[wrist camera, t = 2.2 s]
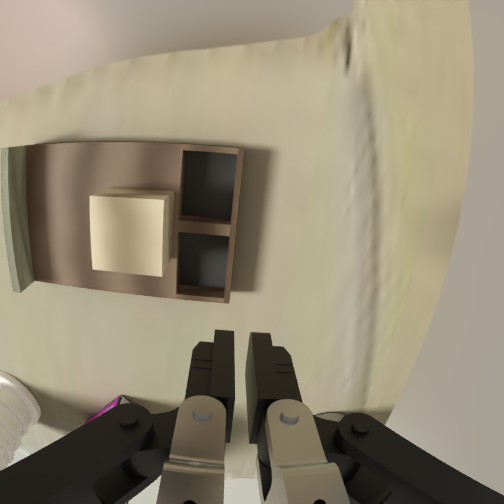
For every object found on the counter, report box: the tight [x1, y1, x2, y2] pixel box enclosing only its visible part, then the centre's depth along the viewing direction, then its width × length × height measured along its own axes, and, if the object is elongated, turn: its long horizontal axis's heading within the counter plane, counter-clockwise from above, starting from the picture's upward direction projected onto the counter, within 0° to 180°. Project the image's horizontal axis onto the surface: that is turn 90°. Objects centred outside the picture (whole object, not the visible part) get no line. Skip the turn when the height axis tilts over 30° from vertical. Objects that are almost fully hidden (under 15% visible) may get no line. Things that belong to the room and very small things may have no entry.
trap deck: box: [1, 142, 244, 303], centre depth 26 cm, size 22×14×6 cm, turn 84°
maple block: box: [90, 188, 174, 277], centre depth 25 cm, size 6×6×4 cm
